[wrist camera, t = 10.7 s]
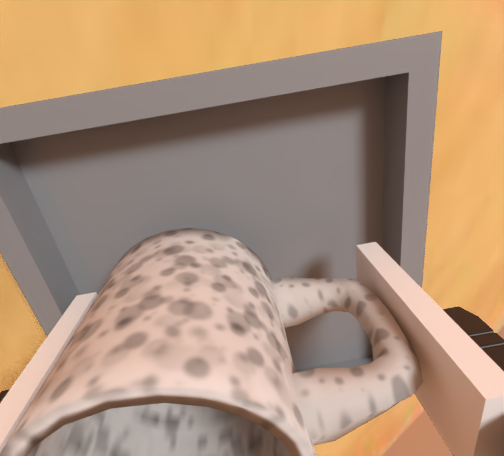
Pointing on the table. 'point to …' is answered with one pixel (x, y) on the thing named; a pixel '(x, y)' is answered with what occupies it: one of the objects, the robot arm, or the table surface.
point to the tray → (230, 176)
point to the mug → (209, 361)
